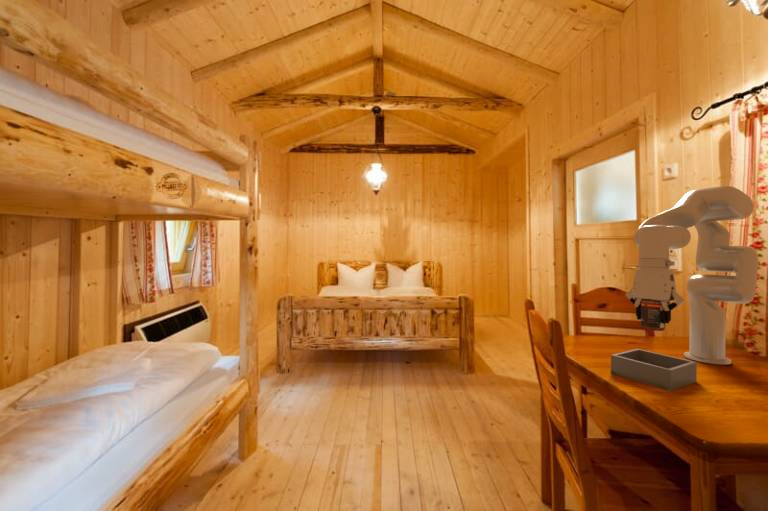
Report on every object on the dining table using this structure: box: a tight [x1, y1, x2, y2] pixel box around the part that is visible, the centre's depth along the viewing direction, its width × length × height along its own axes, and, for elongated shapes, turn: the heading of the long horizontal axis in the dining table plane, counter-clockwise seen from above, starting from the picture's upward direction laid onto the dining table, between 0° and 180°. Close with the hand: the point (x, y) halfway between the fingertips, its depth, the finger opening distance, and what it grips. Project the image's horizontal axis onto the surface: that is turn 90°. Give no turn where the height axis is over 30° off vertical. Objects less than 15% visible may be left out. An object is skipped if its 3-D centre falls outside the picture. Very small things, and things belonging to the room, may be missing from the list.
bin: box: [610, 348, 698, 392], centre depth 105 cm, size 16×16×6 cm
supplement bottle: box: [640, 299, 666, 332], centre depth 104 cm, size 6×6×11 cm
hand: (652, 320), depth 105 cm, fingers closed on supplement bottle, 6 cm apart
